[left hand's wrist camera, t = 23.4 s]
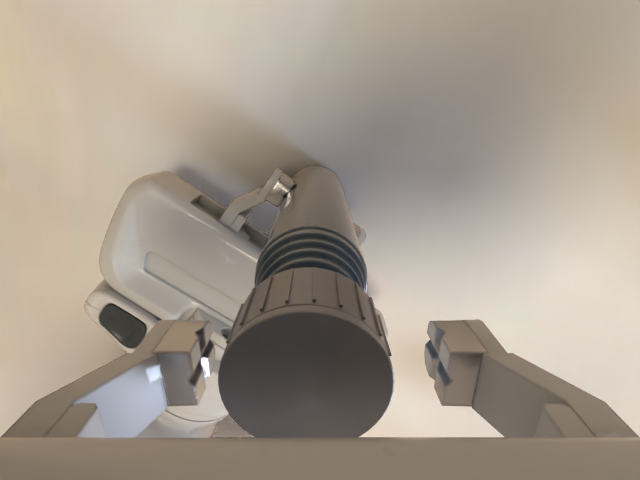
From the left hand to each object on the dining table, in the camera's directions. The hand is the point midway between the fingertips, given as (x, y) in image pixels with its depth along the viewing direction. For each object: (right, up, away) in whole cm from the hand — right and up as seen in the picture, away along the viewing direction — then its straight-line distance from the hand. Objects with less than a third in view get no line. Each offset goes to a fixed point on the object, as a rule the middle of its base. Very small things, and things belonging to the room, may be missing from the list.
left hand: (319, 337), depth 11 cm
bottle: (0, +7, +17) cm, 19 cm away
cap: (0, 0, -2) cm, 2 cm away
